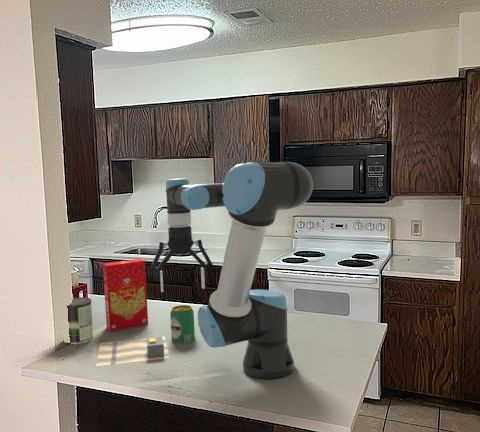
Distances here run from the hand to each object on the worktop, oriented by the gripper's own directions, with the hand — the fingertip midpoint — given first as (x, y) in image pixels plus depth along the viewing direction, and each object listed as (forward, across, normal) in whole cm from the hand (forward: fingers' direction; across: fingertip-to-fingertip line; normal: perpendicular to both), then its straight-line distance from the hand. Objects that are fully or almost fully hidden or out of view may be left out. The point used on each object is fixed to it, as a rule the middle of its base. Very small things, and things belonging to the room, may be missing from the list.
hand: (182, 289), depth 159 cm
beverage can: (+20, 0, -6) cm, 21 cm away
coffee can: (+20, +37, -19) cm, 46 cm away
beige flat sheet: (+20, +17, +1) cm, 26 cm away
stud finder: (+19, +10, +6) cm, 22 cm away
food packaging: (+20, +20, -29) cm, 41 cm away
